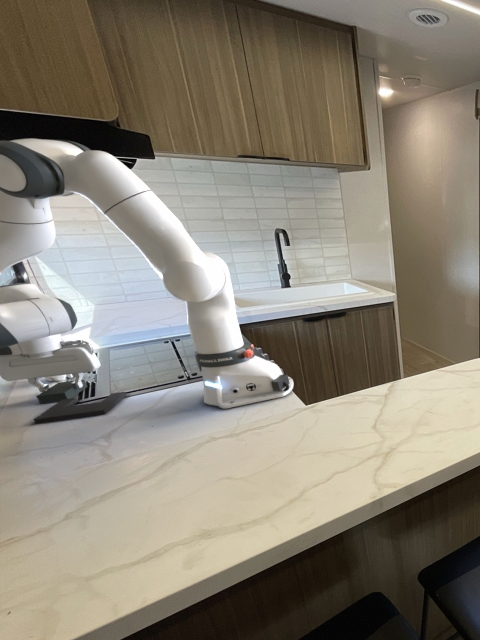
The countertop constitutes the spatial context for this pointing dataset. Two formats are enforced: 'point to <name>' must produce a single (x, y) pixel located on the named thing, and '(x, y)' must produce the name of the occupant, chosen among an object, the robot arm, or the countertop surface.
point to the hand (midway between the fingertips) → (62, 389)
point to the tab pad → (60, 392)
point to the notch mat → (79, 408)
